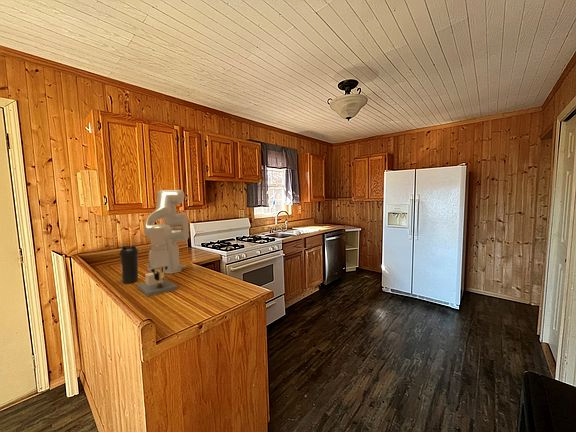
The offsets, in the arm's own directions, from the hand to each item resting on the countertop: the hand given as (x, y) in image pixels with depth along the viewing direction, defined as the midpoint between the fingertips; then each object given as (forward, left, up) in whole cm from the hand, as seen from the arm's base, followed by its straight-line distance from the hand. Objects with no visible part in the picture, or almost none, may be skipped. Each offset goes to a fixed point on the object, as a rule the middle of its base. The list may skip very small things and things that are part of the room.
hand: (159, 279), depth 147 cm
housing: (0, -5, -7) cm, 8 cm away
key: (0, -3, -4) cm, 5 cm away
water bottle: (+8, -32, -7) cm, 34 cm away
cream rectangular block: (0, -10, -5) cm, 11 cm away
